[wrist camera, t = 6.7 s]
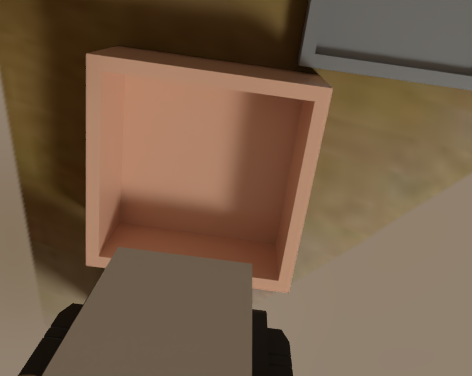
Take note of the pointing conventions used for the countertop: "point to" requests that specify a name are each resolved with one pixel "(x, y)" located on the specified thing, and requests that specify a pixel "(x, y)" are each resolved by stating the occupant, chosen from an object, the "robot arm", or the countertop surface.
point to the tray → (391, 39)
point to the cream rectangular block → (162, 319)
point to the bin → (200, 158)
